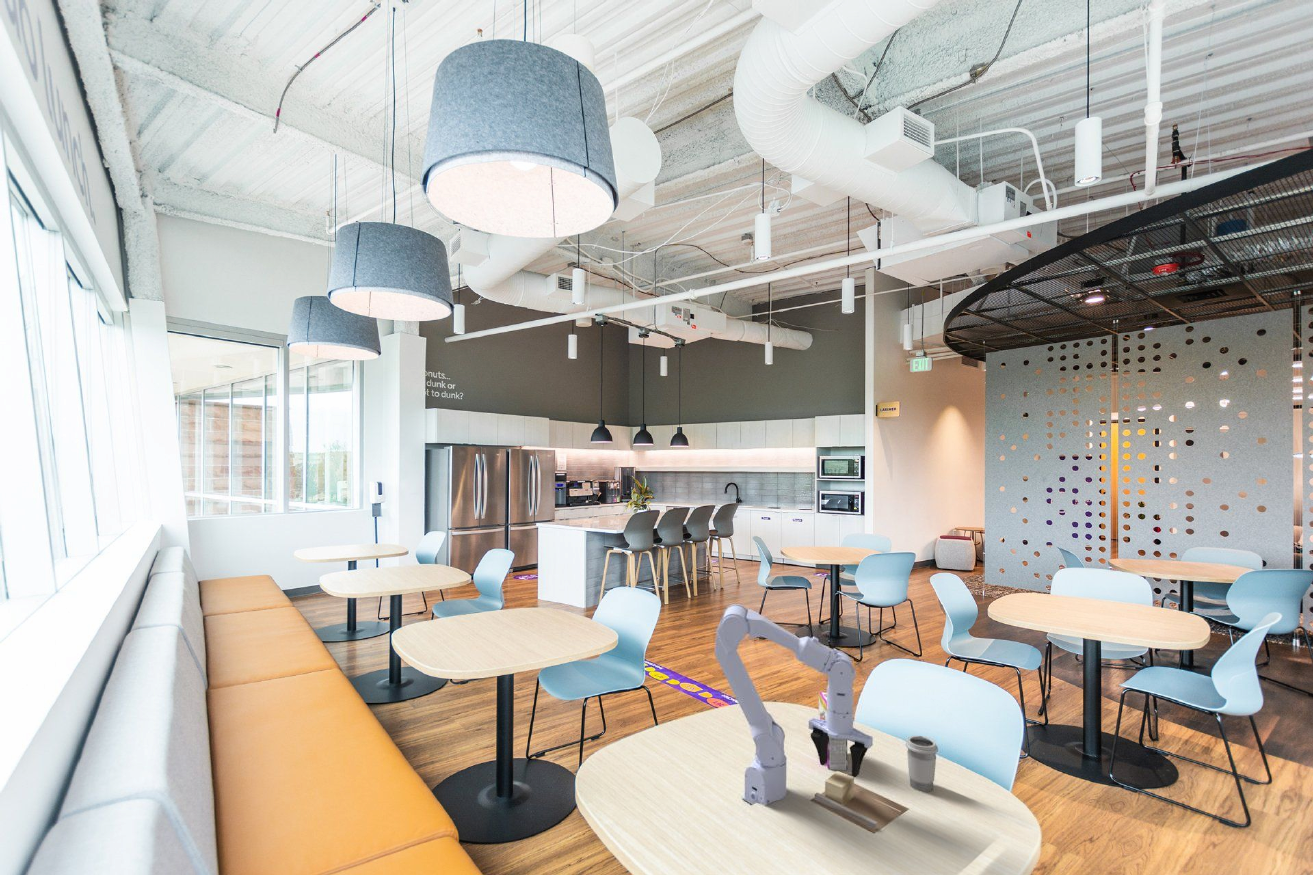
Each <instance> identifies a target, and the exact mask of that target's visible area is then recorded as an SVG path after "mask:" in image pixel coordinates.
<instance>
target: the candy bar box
mask: <svg viewBox="0 0 1313 875" xmlns="http://www.w3.org/2000/svg"><path fill="white" fill-rule="evenodd" d="M818 719H819V720H825V721H827V691H826V692H825V691H820V692H818ZM824 767H827V770H830V771H831V770H832V771H848V740H846V739H843V738H839V737H837V738H832V737H829V740H828V760H827V763H826V764H825V765H824Z"/></svg>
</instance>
